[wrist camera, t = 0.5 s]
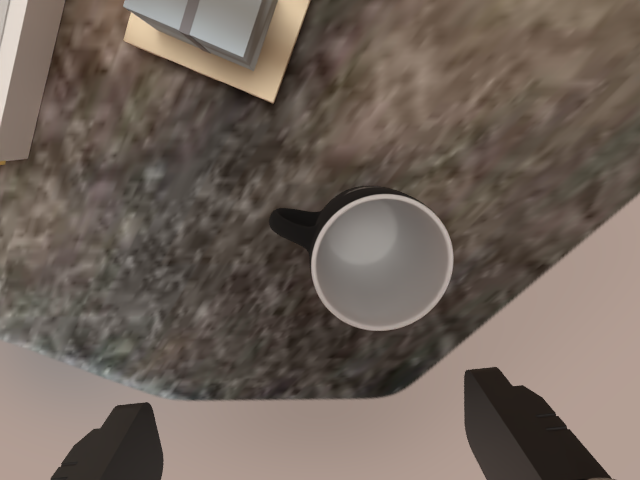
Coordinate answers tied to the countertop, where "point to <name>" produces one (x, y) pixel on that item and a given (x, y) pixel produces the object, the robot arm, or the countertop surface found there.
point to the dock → (24, 69)
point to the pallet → (225, 69)
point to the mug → (373, 255)
